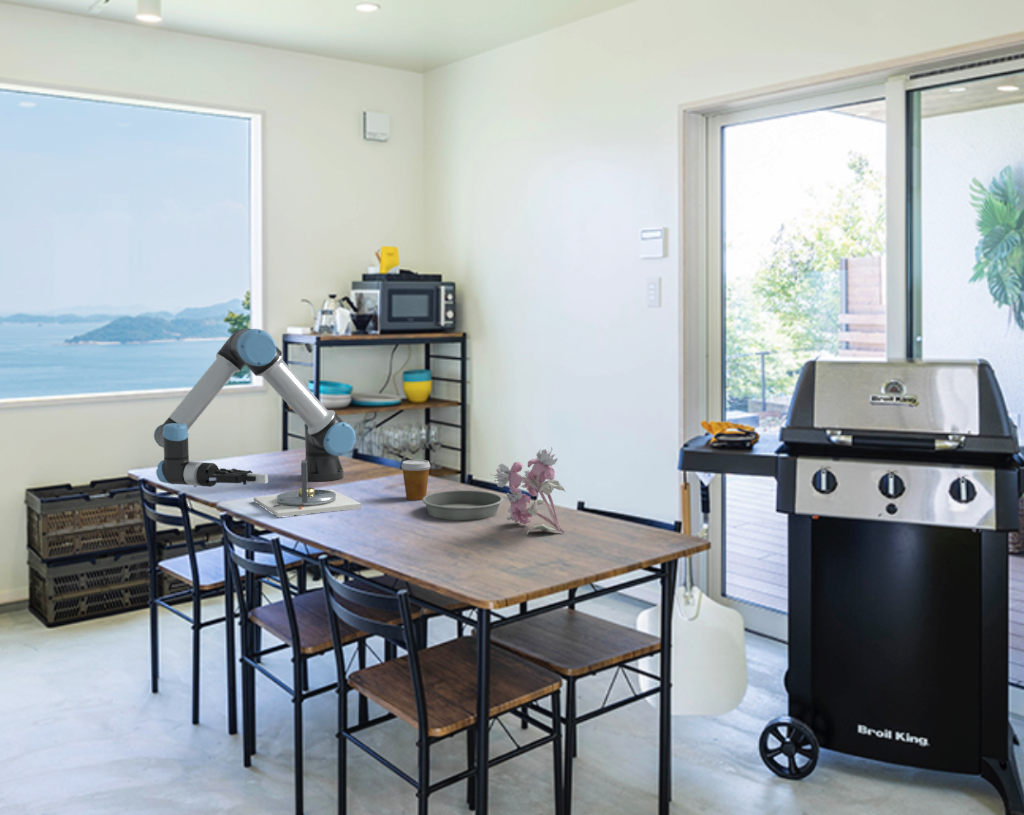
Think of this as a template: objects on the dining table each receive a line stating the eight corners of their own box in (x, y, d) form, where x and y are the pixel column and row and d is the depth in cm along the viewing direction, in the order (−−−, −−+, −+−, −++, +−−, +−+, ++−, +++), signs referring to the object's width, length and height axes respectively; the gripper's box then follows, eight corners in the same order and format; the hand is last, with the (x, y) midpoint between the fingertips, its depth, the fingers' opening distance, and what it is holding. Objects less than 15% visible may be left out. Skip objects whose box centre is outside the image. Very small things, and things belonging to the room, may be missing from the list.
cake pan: (430, 524, 271) (430, 509, 270) (416, 506, 295) (416, 492, 294) (512, 519, 278) (512, 504, 277) (492, 502, 301) (492, 488, 301)
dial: (279, 494, 302) (278, 453, 301) (336, 492, 305) (335, 452, 303) (274, 507, 283) (272, 463, 281) (334, 505, 286) (333, 462, 284)
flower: (581, 514, 275) (544, 438, 275) (590, 524, 253) (550, 441, 252) (520, 544, 275) (482, 468, 274) (523, 557, 252) (482, 474, 252)
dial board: (331, 493, 313) (331, 488, 312) (361, 508, 290) (361, 502, 290) (253, 502, 299) (253, 496, 299) (278, 518, 277) (278, 512, 277)
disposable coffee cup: (433, 495, 310) (432, 459, 308) (427, 501, 300) (427, 464, 299) (404, 495, 310) (404, 459, 309) (398, 501, 301) (398, 464, 300)
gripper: (215, 482, 305) (278, 486, 297) (189, 489, 292) (254, 494, 285) (214, 459, 304) (277, 463, 296) (188, 466, 292) (253, 470, 284)
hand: (266, 478), depth 290 cm, fingers closed
